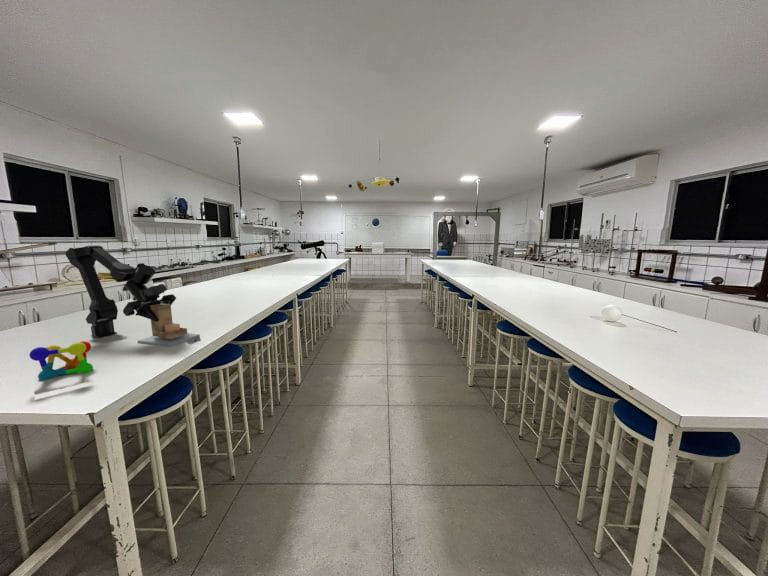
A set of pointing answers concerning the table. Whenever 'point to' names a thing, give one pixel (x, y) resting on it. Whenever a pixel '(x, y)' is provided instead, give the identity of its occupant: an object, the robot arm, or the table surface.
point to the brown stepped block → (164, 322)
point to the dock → (169, 340)
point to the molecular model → (55, 351)
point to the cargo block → (172, 328)
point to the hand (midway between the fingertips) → (164, 319)
